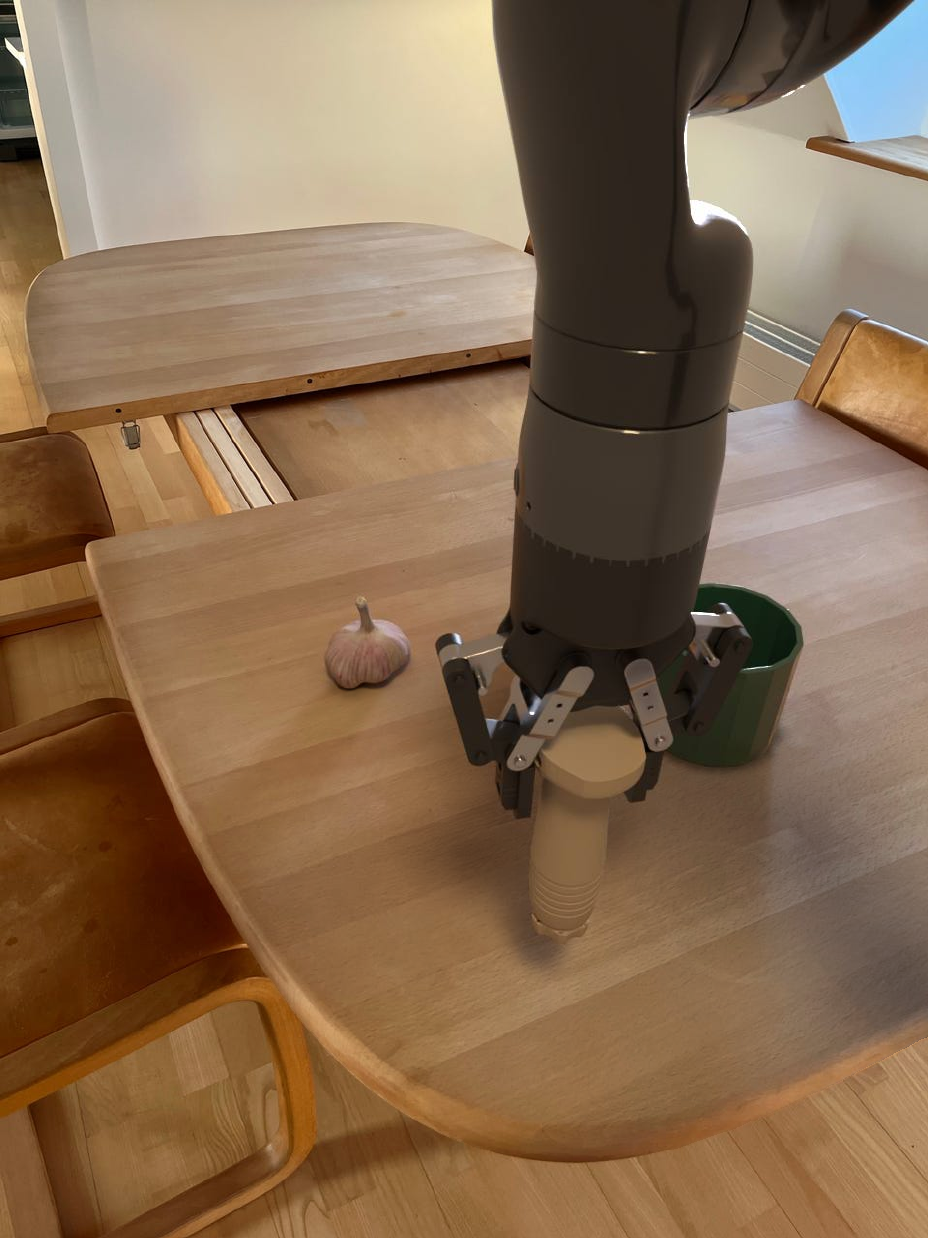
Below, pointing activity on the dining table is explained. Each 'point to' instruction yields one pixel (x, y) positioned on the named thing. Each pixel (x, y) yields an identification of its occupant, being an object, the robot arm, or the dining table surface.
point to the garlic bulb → (366, 650)
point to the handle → (578, 815)
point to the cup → (744, 680)
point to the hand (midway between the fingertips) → (575, 796)
